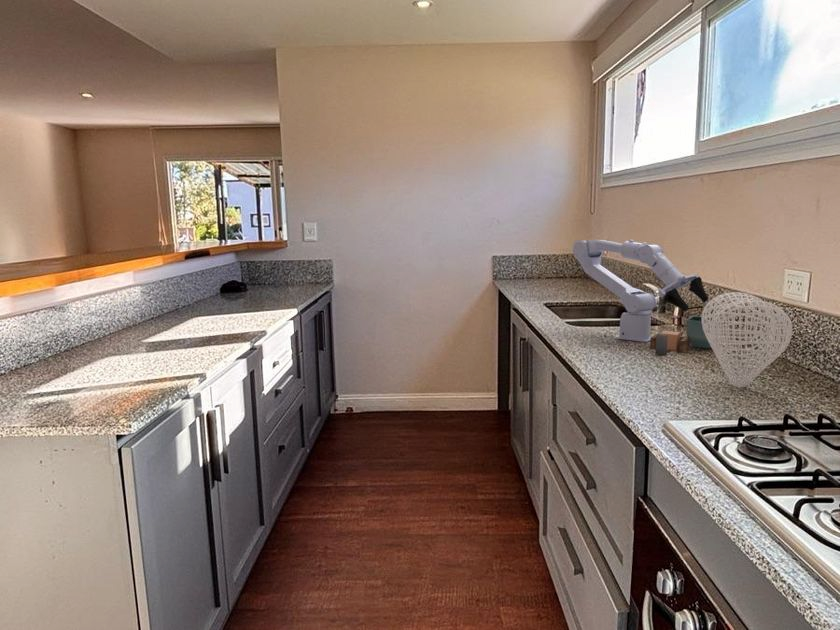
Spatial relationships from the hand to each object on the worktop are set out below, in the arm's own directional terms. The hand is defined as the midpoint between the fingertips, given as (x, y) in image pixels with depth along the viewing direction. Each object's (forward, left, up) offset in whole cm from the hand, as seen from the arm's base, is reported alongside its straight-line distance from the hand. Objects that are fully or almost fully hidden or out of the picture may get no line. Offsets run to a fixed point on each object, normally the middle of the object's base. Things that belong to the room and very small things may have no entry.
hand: (696, 305), depth 175 cm
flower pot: (+1, +6, -14) cm, 16 cm away
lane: (-7, -2, -14) cm, 16 cm away
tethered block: (-7, -7, -14) cm, 17 cm away
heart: (+17, -38, -14) cm, 44 cm away
